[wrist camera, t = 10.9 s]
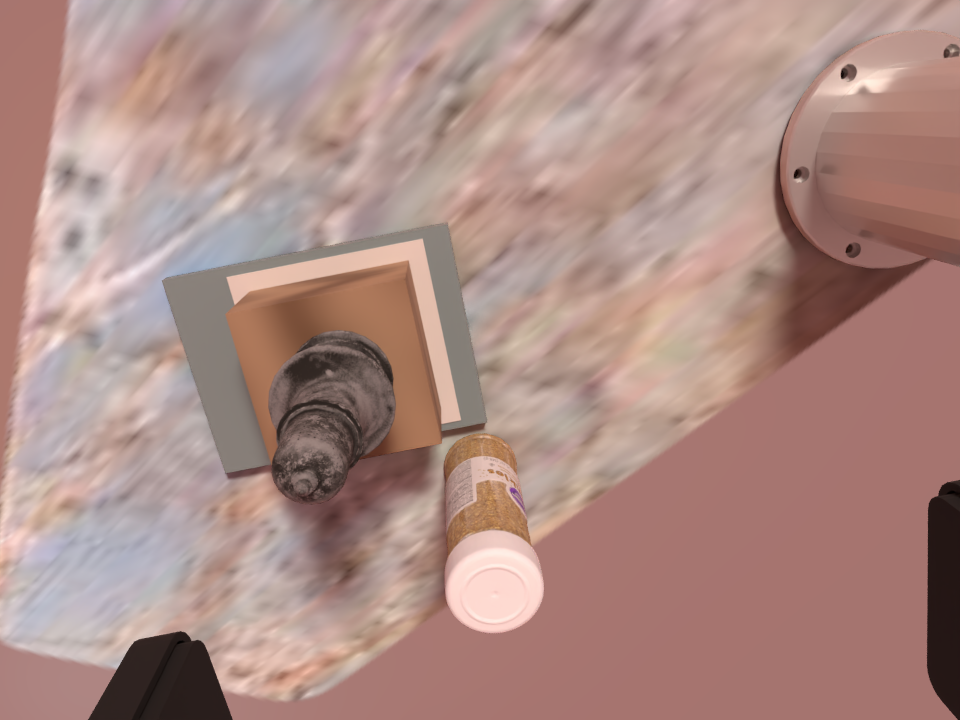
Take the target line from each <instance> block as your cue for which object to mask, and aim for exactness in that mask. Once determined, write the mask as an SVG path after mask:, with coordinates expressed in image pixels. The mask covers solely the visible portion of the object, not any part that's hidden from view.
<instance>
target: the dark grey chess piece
mask: <svg viewBox="0 0 960 720" xmlns="http://www.w3.org/2000/svg"><path fill="white" fill-rule="evenodd" d="M393 380H394V378H393V373H392V367H391V365H390V363H389V360H388V358H387V356H386V354H385V353H384V352H383V351H382V350H381V349H380V347H379V346H378V345H377V344H376V343H374V342H373V341H371V340H370V339H368V338H367V337H365V336H363V335H360V334H357V333H355V332H352V331H342V330H335V331H328V332H323V333H321V334H319V335H316V336H314V337H312V338H311V339H309V340H308V341H307V342H306V343H304V344H303V345H302V346H301V347H300V348H299V350H298V351H297V353H296V354H295V355H294V356H292V357H291V358H290V359H289V360H287V361H286V362H285V363H284V364H283V365H282V366H281V368H280V369H279V371H278V372H277V373H276V375H275V376H274V378H273V381H272V384H271V387H270V390H269V400H268V409H269V413H270V417H271V421H272V424H273V425H274V427H275V429H276V442H277V446H278V448H277V450H276V452H275V454H274V457H273V460H272V476H273V480H274V483H275V484H276V486H277V488H278V489H279V490H280V491H281V492H282V493H283V494H284V495H285V496H286V497H288V498H289V499H291V500H293V501H295V502H299V503H302V504H311V505H312V504H319V503H323V502H325V501H328V500H330V499H331V498H332V497H334V496H335V495H336V494H337V493H338V492H339V491H340V489H341V488H342V487H343V485H344V483H345V480H346V478H347V474H348V470H349V469H351V468H352V467H353V466H354V465H355V464H356V462H357V461H358V460H359V459H360V457H363V456H365V455H367V454H369V453H370V452H371V451H373V450H374V449H375V448H377V447H378V446H379V445H380V444H381V443H382V441H383V440H384V439H385V438H386V436H387V435H388V434H389V432H390V429H391V427H392V424H393V422H394V419H395V409H396V400H395V395H394V390H393Z"/></svg>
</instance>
